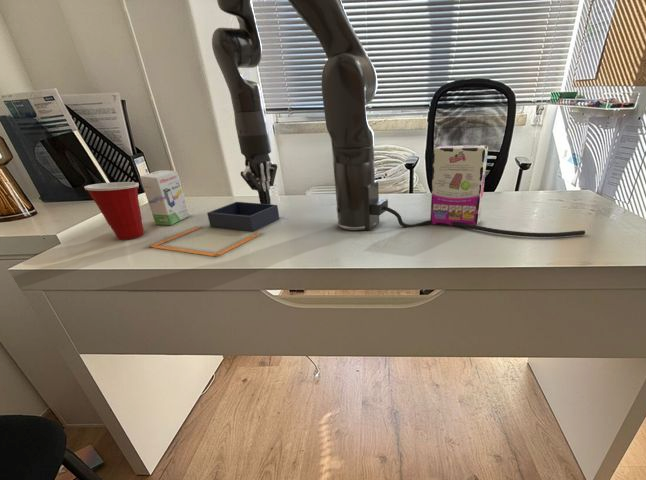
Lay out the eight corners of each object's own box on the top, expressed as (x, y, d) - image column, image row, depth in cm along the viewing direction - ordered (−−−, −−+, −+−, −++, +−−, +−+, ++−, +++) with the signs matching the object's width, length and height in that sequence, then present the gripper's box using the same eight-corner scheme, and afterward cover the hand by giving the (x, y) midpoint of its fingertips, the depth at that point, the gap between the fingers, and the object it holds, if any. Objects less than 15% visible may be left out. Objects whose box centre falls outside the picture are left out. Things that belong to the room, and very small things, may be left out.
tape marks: (260, 234, 91) (260, 234, 91) (216, 256, 80) (216, 256, 80) (197, 227, 97) (196, 227, 97) (148, 247, 86) (148, 246, 86)
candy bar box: (480, 221, 92) (489, 144, 83) (476, 228, 88) (486, 148, 79) (434, 218, 96) (438, 144, 86) (429, 224, 92) (432, 147, 83)
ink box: (174, 215, 107) (159, 169, 101) (191, 216, 106) (177, 169, 100) (154, 225, 101) (137, 176, 94) (172, 225, 100) (155, 176, 93)
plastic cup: (165, 231, 96) (148, 179, 89) (127, 245, 88) (104, 189, 81) (136, 227, 100) (117, 177, 93) (96, 240, 92) (72, 186, 85)
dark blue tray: (279, 218, 101) (277, 204, 99) (253, 231, 93) (249, 216, 91) (239, 214, 106) (236, 201, 104) (210, 226, 97) (206, 212, 95)
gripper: (247, 135, 89) (262, 212, 99) (280, 129, 99) (291, 200, 109) (222, 135, 92) (239, 210, 102) (257, 129, 102) (269, 198, 111)
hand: (266, 205), depth 105 cm, fingers closed
